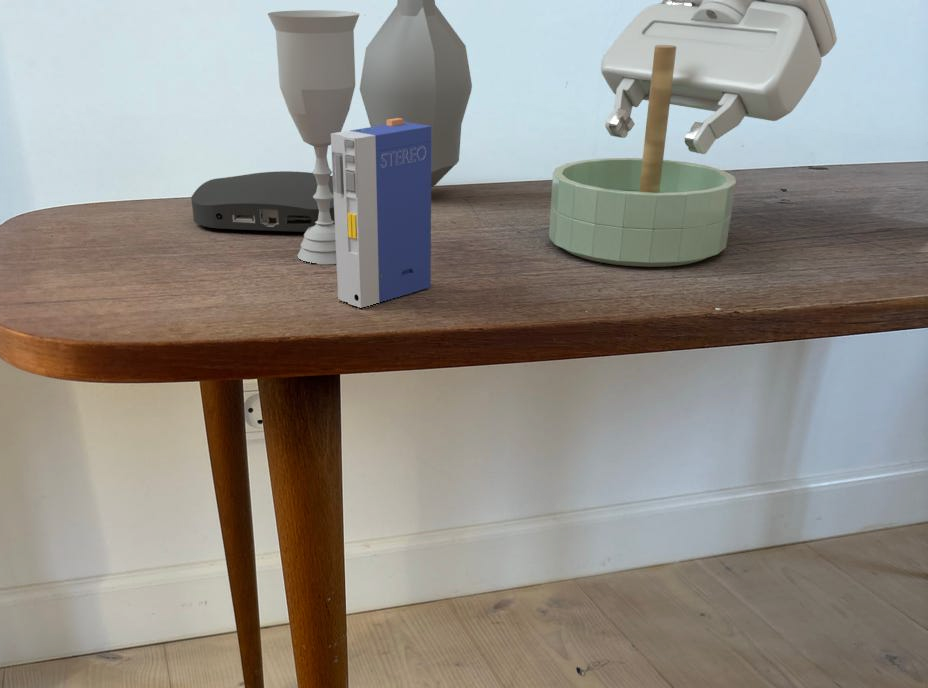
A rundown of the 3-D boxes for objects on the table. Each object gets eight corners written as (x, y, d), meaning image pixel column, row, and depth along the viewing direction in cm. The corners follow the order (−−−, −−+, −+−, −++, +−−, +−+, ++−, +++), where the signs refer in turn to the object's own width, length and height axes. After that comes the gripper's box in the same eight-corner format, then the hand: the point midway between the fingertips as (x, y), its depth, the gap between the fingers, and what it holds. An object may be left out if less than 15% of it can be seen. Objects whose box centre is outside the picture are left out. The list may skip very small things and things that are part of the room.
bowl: (744, 238, 97) (755, 169, 94) (694, 280, 86) (706, 202, 83) (586, 218, 103) (592, 152, 100) (521, 254, 92) (524, 180, 88)
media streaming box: (365, 202, 108) (364, 170, 106) (339, 237, 96) (338, 202, 94) (226, 197, 109) (223, 165, 107) (183, 231, 97) (178, 197, 95)
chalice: (324, 241, 95) (312, 8, 84) (384, 254, 91) (378, 13, 81) (267, 259, 90) (247, 13, 79) (328, 272, 86) (315, 18, 76)
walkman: (405, 280, 85) (404, 116, 78) (431, 287, 83) (432, 120, 76) (334, 301, 80) (326, 128, 73) (360, 309, 78) (354, 133, 72)
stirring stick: (674, 231, 97) (699, 45, 88) (659, 241, 94) (683, 49, 85) (629, 225, 99) (649, 42, 90) (613, 235, 95) (631, 46, 87)
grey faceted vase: (467, 184, 116) (474, -158, 99) (473, 208, 106) (482, -166, 89) (365, 184, 115) (354, -160, 98) (361, 207, 106) (349, -168, 89)
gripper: (641, -30, 95) (554, 99, 96) (833, -20, 82) (730, 130, 82) (669, 25, 100) (585, 147, 100) (854, 43, 87) (756, 184, 87)
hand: (652, 140), depth 91 cm, fingers open, 8 cm apart
